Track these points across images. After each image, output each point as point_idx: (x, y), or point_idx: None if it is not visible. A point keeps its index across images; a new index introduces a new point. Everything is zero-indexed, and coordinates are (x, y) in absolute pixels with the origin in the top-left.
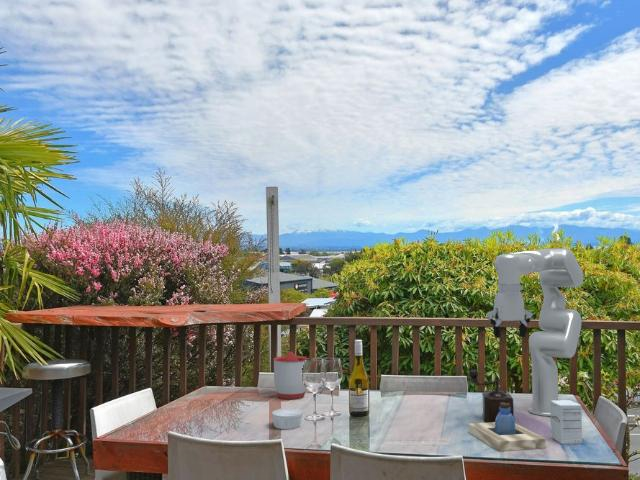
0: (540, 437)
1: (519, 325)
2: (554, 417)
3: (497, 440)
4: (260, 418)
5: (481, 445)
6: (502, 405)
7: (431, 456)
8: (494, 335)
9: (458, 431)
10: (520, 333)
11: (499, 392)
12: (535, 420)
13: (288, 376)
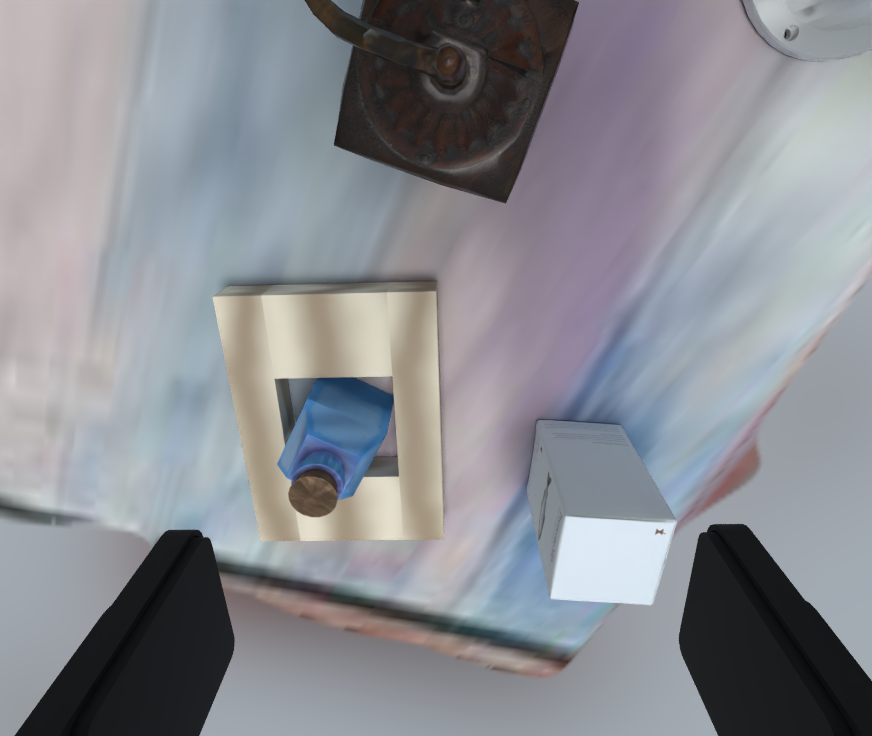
0: (434, 524)
1: (863, 734)
2: (544, 504)
3: (261, 528)
4: None
5: (231, 453)
6: (296, 505)
7: (37, 524)
8: (159, 539)
9: (183, 261)
10: (718, 604)
11: (449, 115)
12: (654, 128)
13: None
